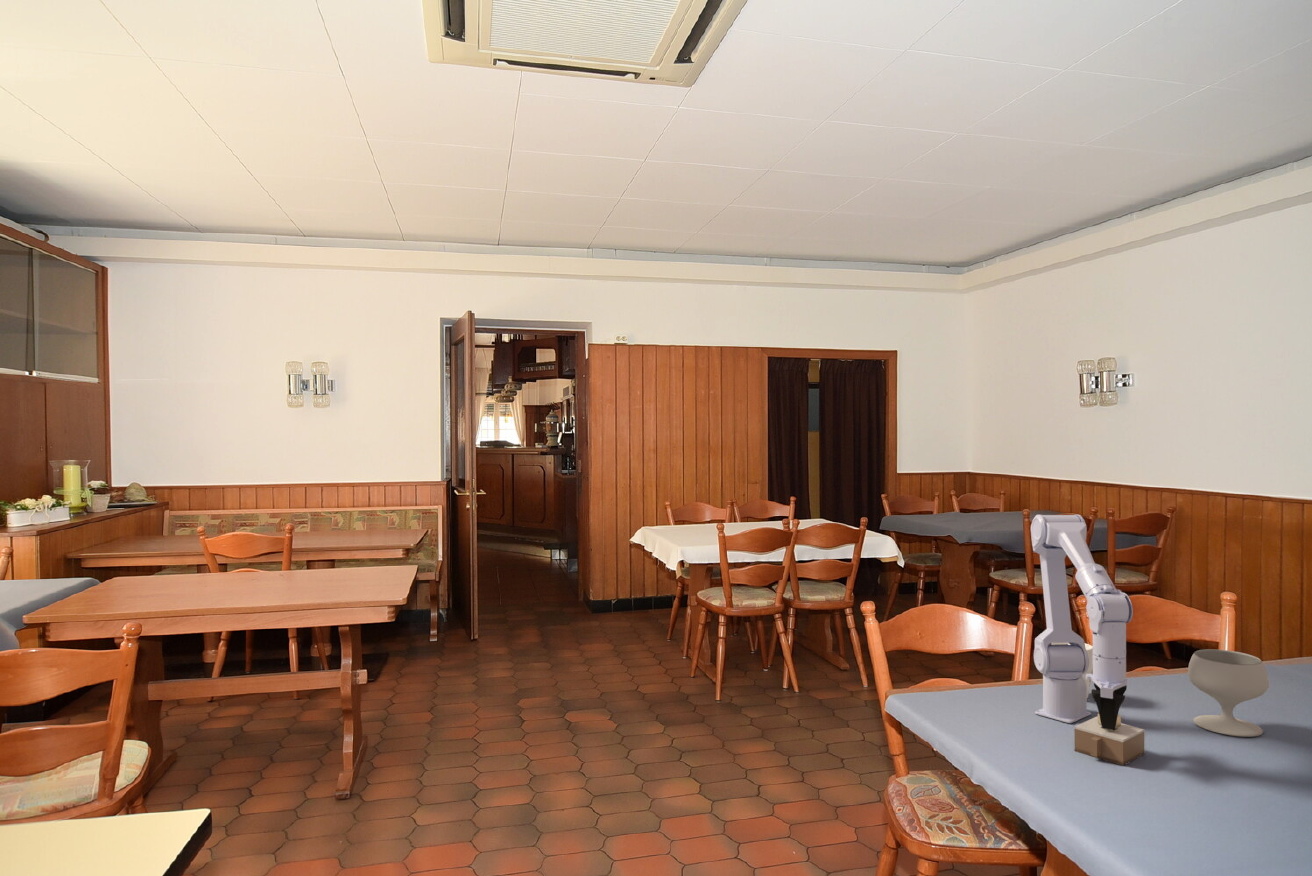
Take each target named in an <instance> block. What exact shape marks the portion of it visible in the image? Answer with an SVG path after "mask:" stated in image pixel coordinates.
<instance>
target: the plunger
mask: <svg viewBox="0 0 1312 876" xmlns="http://www.w3.org/2000/svg"><path fill="white" fill-rule="evenodd" d="M1097 717H1098V724H1099V725H1101V721H1100V716H1099V711H1098V712H1097ZM1121 723H1122V716H1121V715H1120V714H1119V713H1118V717H1117V722H1116V727H1115V728H1119V727H1121ZM1101 726H1102V725H1101ZM1107 730H1111V729H1107ZM1111 731H1113V730H1111Z"/></svg>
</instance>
